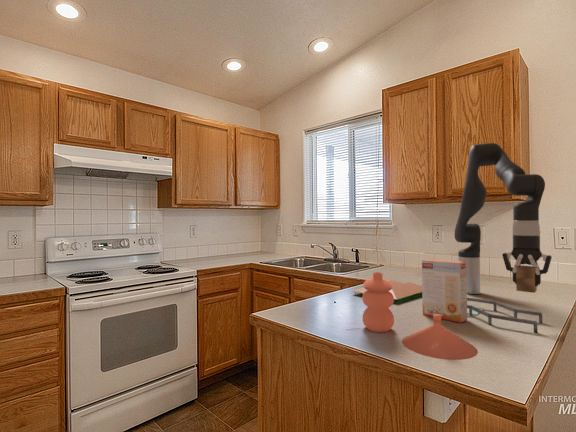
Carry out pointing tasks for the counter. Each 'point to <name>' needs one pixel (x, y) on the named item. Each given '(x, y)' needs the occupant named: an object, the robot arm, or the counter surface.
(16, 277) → the counter surface
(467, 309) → the mat
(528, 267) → the walnut block
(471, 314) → the wire channel
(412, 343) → the ceramic vessels
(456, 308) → the cracker box
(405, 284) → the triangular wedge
